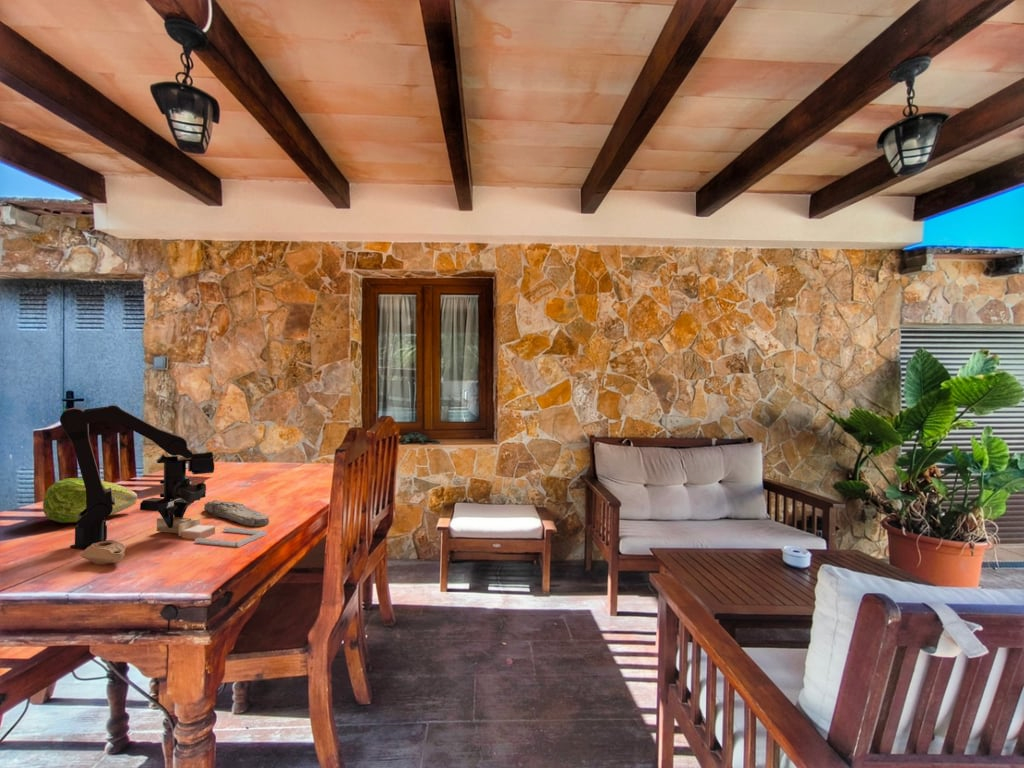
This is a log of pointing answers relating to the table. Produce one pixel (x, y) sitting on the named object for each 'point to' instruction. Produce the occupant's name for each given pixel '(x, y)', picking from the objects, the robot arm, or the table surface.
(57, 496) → the lettuce
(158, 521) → the pusher
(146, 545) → the table surface
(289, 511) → the table surface
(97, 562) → the pottery oil lamp
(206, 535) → the tile
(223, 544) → the bay
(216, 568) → the table surface
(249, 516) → the elongated rock
